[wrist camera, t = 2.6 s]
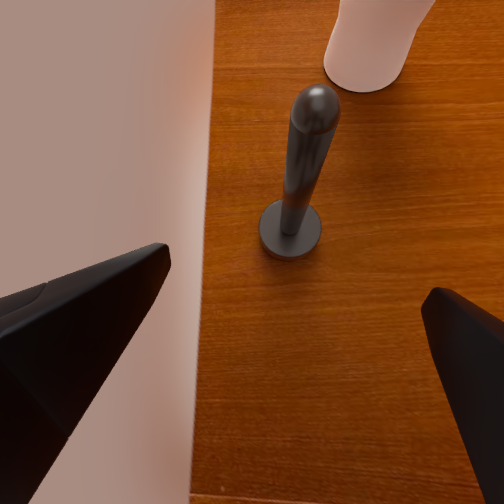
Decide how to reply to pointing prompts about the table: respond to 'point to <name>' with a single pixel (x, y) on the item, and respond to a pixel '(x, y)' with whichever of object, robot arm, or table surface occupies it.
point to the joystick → (301, 175)
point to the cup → (372, 41)
